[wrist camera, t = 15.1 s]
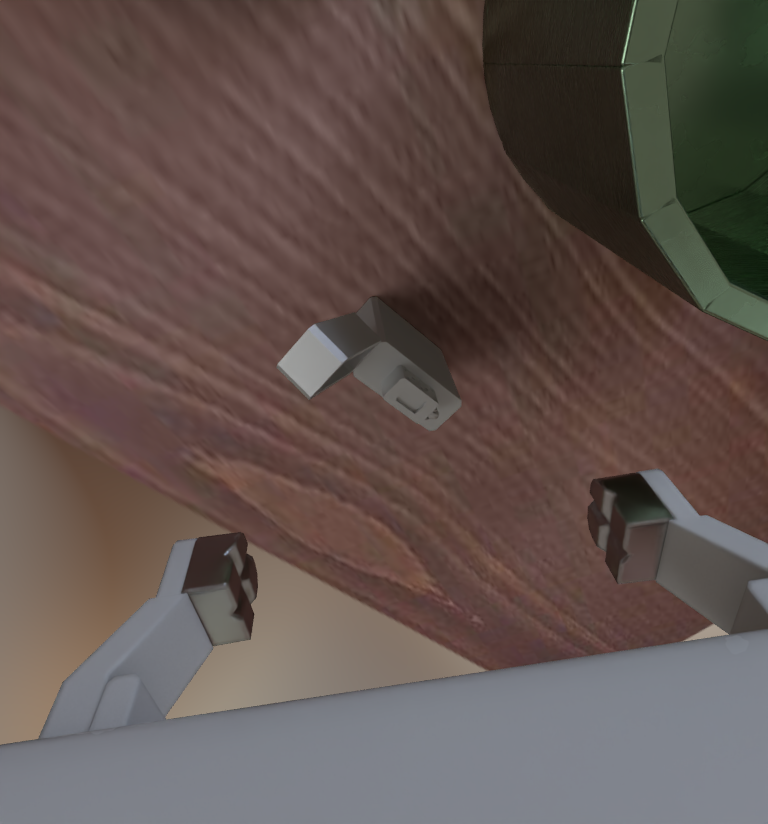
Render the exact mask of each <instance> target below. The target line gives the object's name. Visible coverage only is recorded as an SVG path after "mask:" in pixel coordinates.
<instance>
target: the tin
mask: <svg viewBox="0 0 768 824" xmlns="http://www.w3.org/2000/svg"><path fill="white" fill-rule="evenodd" d="M482 47H483V62H484V65H483V67H484V76H485V83H486V88H487V93H488V99H489V104H490V109H491V112H492V115H493V118H494V121H495V125H496V128H497V131H498V134H499V136H500V139H501V141H502V143H503V147H504V150H505V151H506V154H507V155H508V157H509V158H510V159H511V161H512V162H513V164H514V166H515V167H516V169H517V170H518V172H519V173H520V175H521V176H522V178H523V179H524V180H525V181H526V183H527V184H528V185H529V186H530V187H531V188H532V189H533V190H534V191H535V193H536V194H537V195H538V196H539V197H540V198H541V200H542V201H543V202H544V203H545V205H546V206H547V207H548V209H550V210H551V211H552V212H554V213H555V214H557V215H558V216H560V217H561V218H563V219H564V220H566V221H567V222H569V223H570V224H572V225H573V226H575V227H576V228H578V229H579V230H581V231H582V232H584V233H585V234H587V235H588V236H590V237H591V238H593V239H594V240H596V241H597V242H599V243H600V244H602V245H603V246H605V247H606V248H608V249H609V250H611V251H612V252H614V253H615V254H617V255H618V256H620V257H621V258H623V259H624V260H626V261H627V262H629V263H630V264H632V265H633V266H635V267H636V268H638V269H639V270H641V271H642V272H644V273H645V274H647V275H648V276H650V277H651V278H653V279H654V280H656V281H657V282H659V283H660V284H662V285H663V286H665V287H666V288H668V289H669V290H671V291H672V292H674V293H675V294H677V295H678V296H680V297H681V298H683V299H684V300H686V301H687V302H689V303H690V304H692V305H693V306H695V307H696V308H698V309H699V310H701V311H702V312H704V313H706V314H709V315H711V316H713V317H715V318H717V319H720V320H722V321H724V322H726V323H729V324H731V325H733V326H735V327H737V328H740V329H742V330H744V331H746V332H748V333H751V334H753V335H755V336H757V337H759V338H762V339H764V340H766V341H768V0H485V6H484V18H483V44H482Z"/></svg>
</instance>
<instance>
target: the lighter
mask: <svg viewBox="0 0 768 824" xmlns="http://www.w3.org/2000/svg"><path fill="white" fill-rule="evenodd" d="M277 368H278V369H279V370H280V371H281V372H282V373H283V374H284V375H285V376H286V377H287V378H288V379H289V380H290V381H291V382H292V383H293V384H294V385H295V386H296V387H297V388H298V389H299V390H300V391H301V392H302V393H303V394H304V395H305V396H306V397H307V398H308V399H309V400H310V399H312V398H313V397H315V396H316V395H318V394H319V393H321V392H323V391H324V390H326V389H327V388H329V387H330V386H332V385H334V384H335V383H337V382H338V381H340V380H341V379H343V378H345V377H346V376H348V375H349V374H350V373H351V372H352V371H353V373H354V377H356V378H357V379H358V380H360V381H361V382H363V383H364V384H365V385H367V386H368V387H369V388H371V389H372V390H374V391H375V392H376V393H378V394H379V395H381V396H382V397H383V399H384V400H385V401H386V402H388V403H389V404H391V405H392V406H393V407H395V408H396V409H398V410H399V411H400V412H402V413H403V414H404V415H406V416H407V417H409V418H410V419H411V420H413V421H414V422H415V423H417V424H418V423H419V424H420V425H422V426H423V427H425V428H426V429H427V430H429V431H432V430H436V429H437V428H438V427H439V426H440V425H441V424H443V423H444V422H445V421H446V420H447V419H448V418H449V417H450V416H451V415H452V414H453V413H454V412H456V411H457V410H458V409H459V408H460V407H461V399H460V396H459V394H458V391H457V389H456V386H455V384H454V381H453V379H452V376H451V373H450V371H449V368H448V366H447V363H446V361H445V358H444V356H443V353H442V351H441V349H439V348H438V347H437V346H436V345H435V344H433V343H432V342H431V341H430V340H429V339H427V338H426V337H425V336H424V335H423V334H421V333H420V332H419V331H418V330H416V329H415V328H414V327H413V326H412V325H410V324H409V323H408V322H407V321H406V320H404V319H403V318H402V317H401V316H399V315H398V314H397V313H396V312H395V311H393V310H392V309H391V308H390V307H389V306H387V305H386V304H385V303H384V302H383V301H381V300H380V299H379V298H378V297H370V298H369V299H368V301H367V302H366V303H365V304H364V305H363V306H362V307H361V308H360V309H359V311H358V312H357V313H355V312H354V313H350V314H347V315H344V316H340V317H337V318H333V319H330V320H326V321H323V322H320V323H316V324H314V325H313V326H311V327H310V328H309V329H308V330H307V331H306V332H305V333H304V335H303V336H302V337H301V338H300V339H299V340H298V341H297V343H296V344H295V345H294V346H293V347H292V348H291V349H290V351H289V352H288V353H287V354H286V355H285V356H284V357H283V359H282V360H281V361H280V362H279V363H278V365H277Z"/></svg>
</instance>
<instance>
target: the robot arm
mask: <svg viewBox="0 0 768 824" xmlns="http://www.w3.org/2000/svg"><path fill="white" fill-rule="evenodd" d="M590 494H591V496H592V497H593V499H594V501H593V502H592V503H591V504H590V505H589V506H588V515H587V519H588V525H589V530H590V533H591V536H592V538H593V540H594V542H595V544H596V546H597V547H599V548H600V549H602V550H604V551H605V552H606V558H605V562H606V564H607V566H608V567H609V569H610V571H611V573H612V575H613V576H614V578H615V580H616V582H617V583H618V584H624V583H632V582H641V581H649V580H656V582H657V583H659V584H660V585H661V586H663V587H664V588H665V589H667V590H668V591H670V592H671V593H672V594H674V595H675V596H677V597H678V598H679V599H681V600H682V601H683V602H685V603H686V604H688V605H689V606H690V607H692V608H693V609H695V610H696V611H697V612H699V613H700V614H701V615H703V616H704V617H706V618H707V619H708V620H710V621H711V622H713V623H714V624H715V625H717V626H718V627H720V628H721V629H722V630H724V631H725V632H727V633H728V634H729V635H724V636H717V637H711V638H705V639H697V640H691V641H684V642H677V643H671V644H664V645H657V646H651V647H644V648H638V649H631V650H624V651H618V652H611V653H604V654H598V655H591V656H585V657H578V658H571V659H565V660H558V661H552V662H545V663H538V664H532V665H525V666H519V667H512V668H505V669H499V670H492V671H485V672H479V673H472V674H466V675H459V676H452V677H446V678H439V679H432V680H426V681H419V682H413V683H406V684H399V685H392V686H386V687H379V688H373V689H366V690H360V691H353V692H346V693H339V694H333V695H326V696H320V697H313V698H307V699H300V700H293V701H286V702H281V703H273V704H267V705H260V706H253V707H247V708H240V709H234V710H227V711H221V712H214V713H207V714H200V715H194V716H187V717H181V718H174V719H167V720H166V718H165V716H166V715H167V714H168V712H169V711H170V709H171V708H172V706H173V705H174V704H175V702H176V701H177V699H178V698H179V697H180V695H181V694H182V692H183V691H184V689H185V688H186V686H187V685H188V683H189V682H190V681H191V680H192V678H193V676H194V675H195V674H196V672H197V671H198V669H199V668H200V667H201V665H202V664H203V662H204V661H205V660H206V658H207V657H208V655H209V654H210V653H211V651H212V650H213V646H217V645H223V644H228V643H233V642H239V641H245V640H250V639H251V633H252V626H253V619H254V612H253V610H252V607H251V603H252V602H253V601H254V600H255V599H256V597H257V588H258V582H257V570H256V566H255V562H254V559H253V557H252V556H250V555H249V554H247V553H246V552H247V546H248V543H247V540H246V538H245V536H244V533H241V532H238V533H230V534H222V535H215V536H207V537H199V538H195V539H186V540H178V541H177V542H176V543H175V544H174V545H173V547H172V550H171V553H170V556H169V559H168V562H167V565H166V568H165V571H164V574H163V577H162V580H161V583H160V587H159V589H158V592H157V595H156V598H151V599H149V600H147V601H146V602H145V603H144V604H143V605H142V606H141V607H140V608H139V609H138V610H137V611H136V612H135V613H134V614H133V615H132V616H131V617H130V618H129V619H128V620H127V621H126V622H125V623H124V624H123V625H122V626H121V627H119V628H118V630H116V631H115V632H114V634H112V635H111V636H110V637H109V638H108V639H107V640H106V641H105V642H104V643H103V644H102V645H101V646H100V647H99V648H98V649H97V650H96V651H95V652H94V653H93V654H92V655H90V656H89V657H88V658H87V660H85V661H84V662H83V663H82V664H81V665H80V666H79V667H78V668H77V669H76V670H75V671H74V672H73V673H72V674H71V675H70V676H69V677H68V678H67V679H66V680H65V681H63V683H62V685H61V687H60V690H59V692H58V694H57V697H56V699H55V701H54V704H53V706H52V708H51V711H50V713H49V715H48V717H47V720H46V722H45V724H44V727H43V729H42V731H41V734H40V736H39V738H38V739H36V740H29V741H22V742H15V743H9V744H2V745H0V824H768V544H767V543H765V542H763V541H761V540H758V539H756V538H754V537H752V536H750V535H748V534H746V533H743V532H741V531H739V530H737V529H735V528H733V527H731V526H729V525H726V524H724V523H722V522H720V521H718V520H716V519H714V518H711V517H709V516H707V515H704V516H699V514H698V513H697V512H696V511H695V510H694V508H693V507H692V506H691V505H690V503H689V502H688V501H687V500H686V499H685V497H684V496H683V495H682V494H681V493H680V491H679V490H678V489H677V488H676V487H675V485H674V484H673V483H672V482H671V481H670V479H669V478H668V477H667V476H666V475H665V473H664V472H663V471H662V470H660V469H653V470H647V471H640V472H636V473H629V474H623V475H617V476H610V477H604V478H598V479H593V480H592V482H591V485H590Z"/></svg>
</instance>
